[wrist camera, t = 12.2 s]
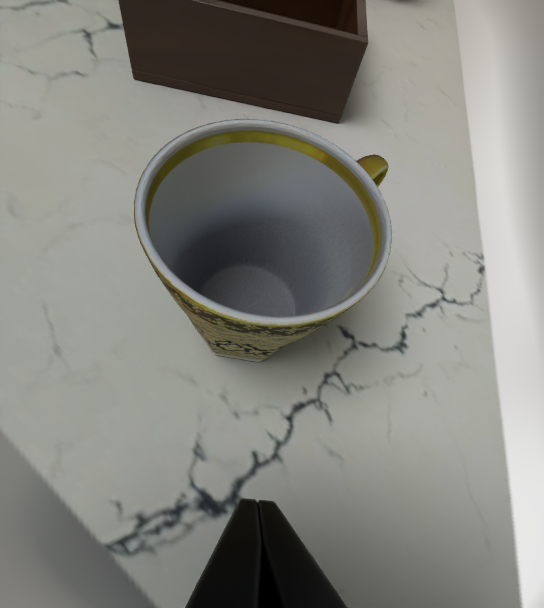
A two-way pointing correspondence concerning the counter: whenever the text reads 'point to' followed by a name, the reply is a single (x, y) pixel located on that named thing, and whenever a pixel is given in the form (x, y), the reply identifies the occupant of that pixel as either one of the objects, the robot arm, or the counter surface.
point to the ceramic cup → (262, 231)
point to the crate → (251, 50)
